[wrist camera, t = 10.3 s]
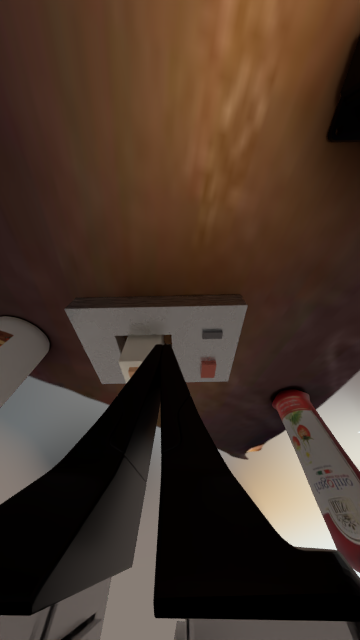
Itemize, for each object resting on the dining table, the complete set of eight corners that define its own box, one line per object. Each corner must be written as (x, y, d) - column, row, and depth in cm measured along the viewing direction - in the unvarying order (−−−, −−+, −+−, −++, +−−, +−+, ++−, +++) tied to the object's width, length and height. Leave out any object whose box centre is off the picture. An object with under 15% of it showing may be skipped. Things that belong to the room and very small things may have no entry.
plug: (162, 326, 23) (158, 365, 18) (165, 349, 25) (161, 388, 20) (131, 327, 23) (116, 365, 18) (136, 349, 25) (125, 389, 20)
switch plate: (240, 294, 20) (249, 308, 17) (224, 368, 28) (229, 385, 26) (75, 298, 20) (60, 312, 17) (107, 370, 28) (100, 387, 26)
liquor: (278, 407, 37) (442, 746, 14) (261, 395, 34) (436, 803, 11) (312, 394, 34) (593, 799, 11) (297, 379, 31) (644, 899, 8)
